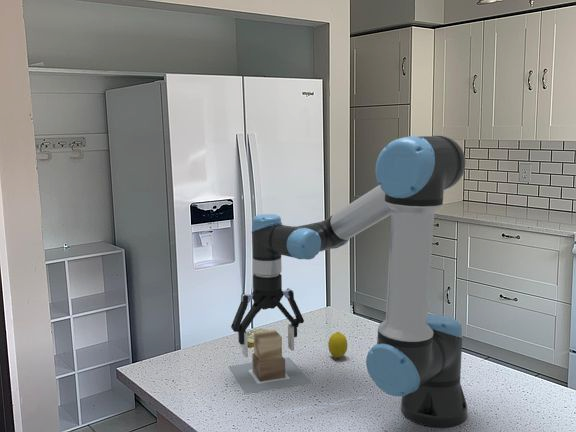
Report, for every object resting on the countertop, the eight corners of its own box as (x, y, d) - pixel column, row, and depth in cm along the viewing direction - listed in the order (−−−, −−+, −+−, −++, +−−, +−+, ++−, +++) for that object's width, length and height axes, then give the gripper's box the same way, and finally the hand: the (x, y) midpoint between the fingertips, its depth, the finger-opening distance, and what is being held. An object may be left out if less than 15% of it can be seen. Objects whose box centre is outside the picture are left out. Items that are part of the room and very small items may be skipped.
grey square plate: (312, 387, 149) (312, 382, 149) (245, 398, 143) (245, 394, 143) (289, 361, 166) (289, 357, 166) (228, 370, 160) (228, 366, 160)
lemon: (347, 354, 170) (347, 328, 169) (347, 362, 165) (347, 335, 163) (328, 354, 171) (328, 328, 169) (328, 361, 165) (327, 335, 164)
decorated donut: (235, 345, 179) (235, 333, 178) (259, 335, 187) (259, 324, 186) (260, 353, 172) (260, 341, 172) (283, 343, 180) (283, 331, 180)
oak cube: (282, 358, 152) (281, 337, 151) (260, 361, 150) (259, 339, 149) (275, 350, 158) (274, 329, 157) (254, 353, 156) (253, 332, 155)
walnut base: (285, 377, 152) (285, 359, 151) (260, 381, 150) (259, 363, 149) (277, 367, 159) (276, 350, 158) (252, 371, 156) (252, 353, 156)
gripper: (305, 266, 158) (305, 341, 161) (218, 274, 150) (220, 353, 153) (315, 272, 151) (316, 350, 154) (224, 281, 143) (227, 363, 146)
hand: (268, 352), depth 153 cm, fingers open, 12 cm apart
